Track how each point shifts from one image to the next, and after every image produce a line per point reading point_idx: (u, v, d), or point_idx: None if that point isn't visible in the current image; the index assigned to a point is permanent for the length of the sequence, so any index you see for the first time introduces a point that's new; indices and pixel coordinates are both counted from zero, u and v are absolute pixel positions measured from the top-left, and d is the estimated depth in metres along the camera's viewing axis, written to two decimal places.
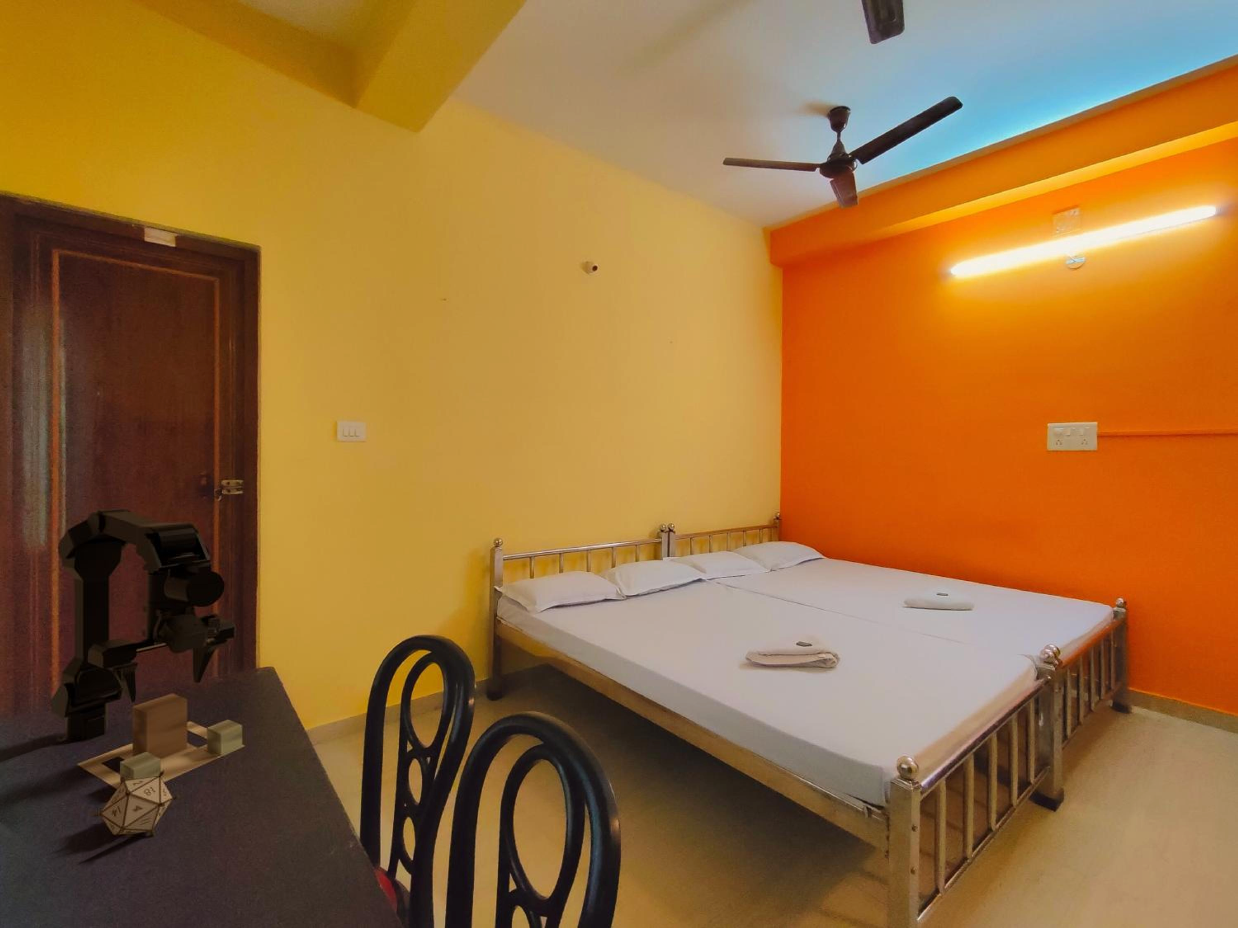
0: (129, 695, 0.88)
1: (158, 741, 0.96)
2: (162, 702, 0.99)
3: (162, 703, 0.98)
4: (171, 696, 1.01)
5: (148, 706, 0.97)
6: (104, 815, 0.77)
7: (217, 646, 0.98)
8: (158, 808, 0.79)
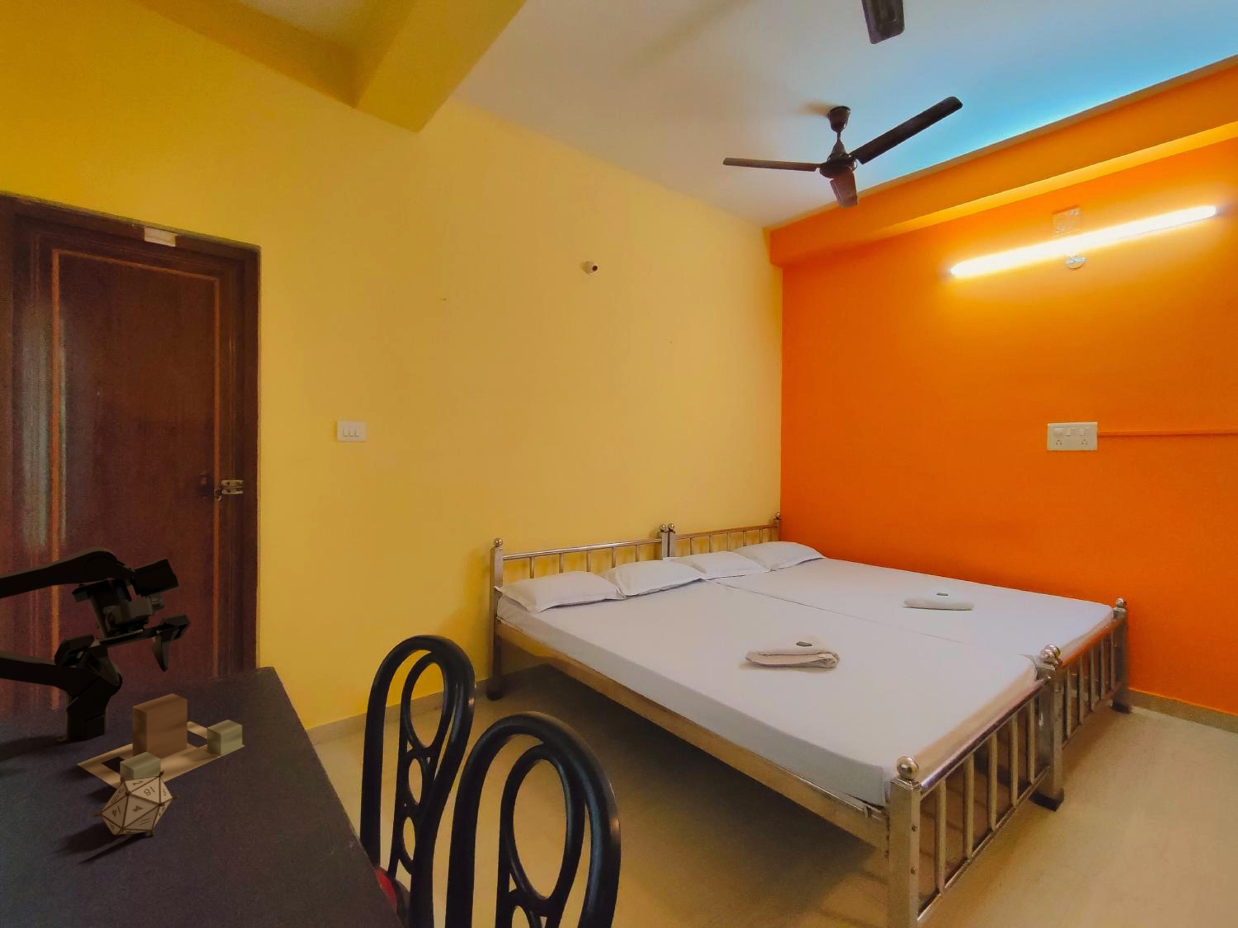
0: (112, 677, 0.98)
1: (158, 741, 0.96)
2: (162, 702, 0.99)
3: (162, 703, 0.98)
4: (171, 696, 1.01)
5: (148, 706, 0.97)
6: (104, 815, 0.77)
7: (170, 634, 1.07)
8: (158, 808, 0.79)
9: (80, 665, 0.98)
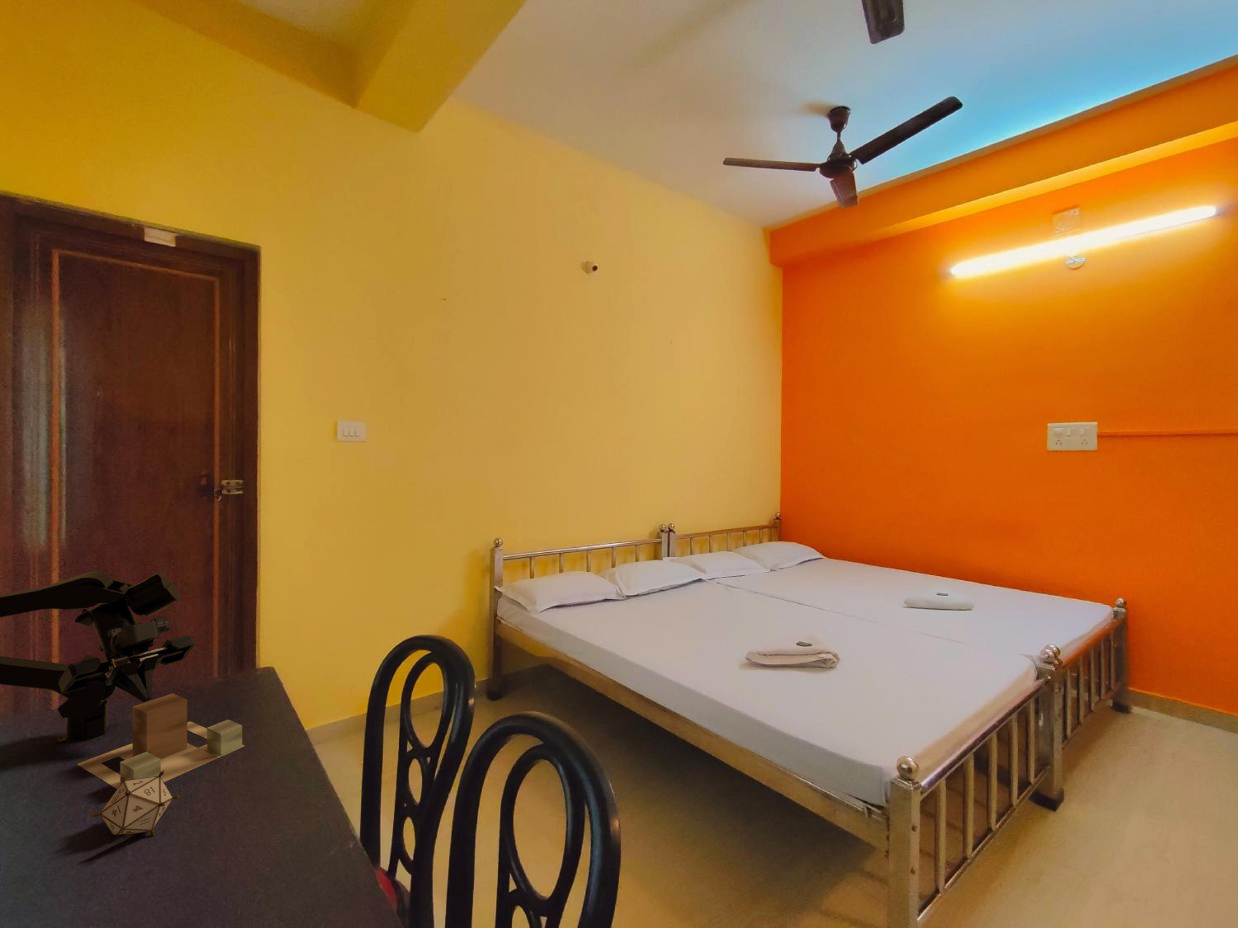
0: (141, 694, 1.01)
1: (158, 741, 0.96)
2: (162, 702, 0.99)
3: (162, 703, 0.98)
4: (171, 696, 1.01)
5: (148, 706, 0.97)
6: (104, 815, 0.77)
7: (154, 661, 1.04)
8: (158, 808, 0.79)
9: (110, 682, 1.01)
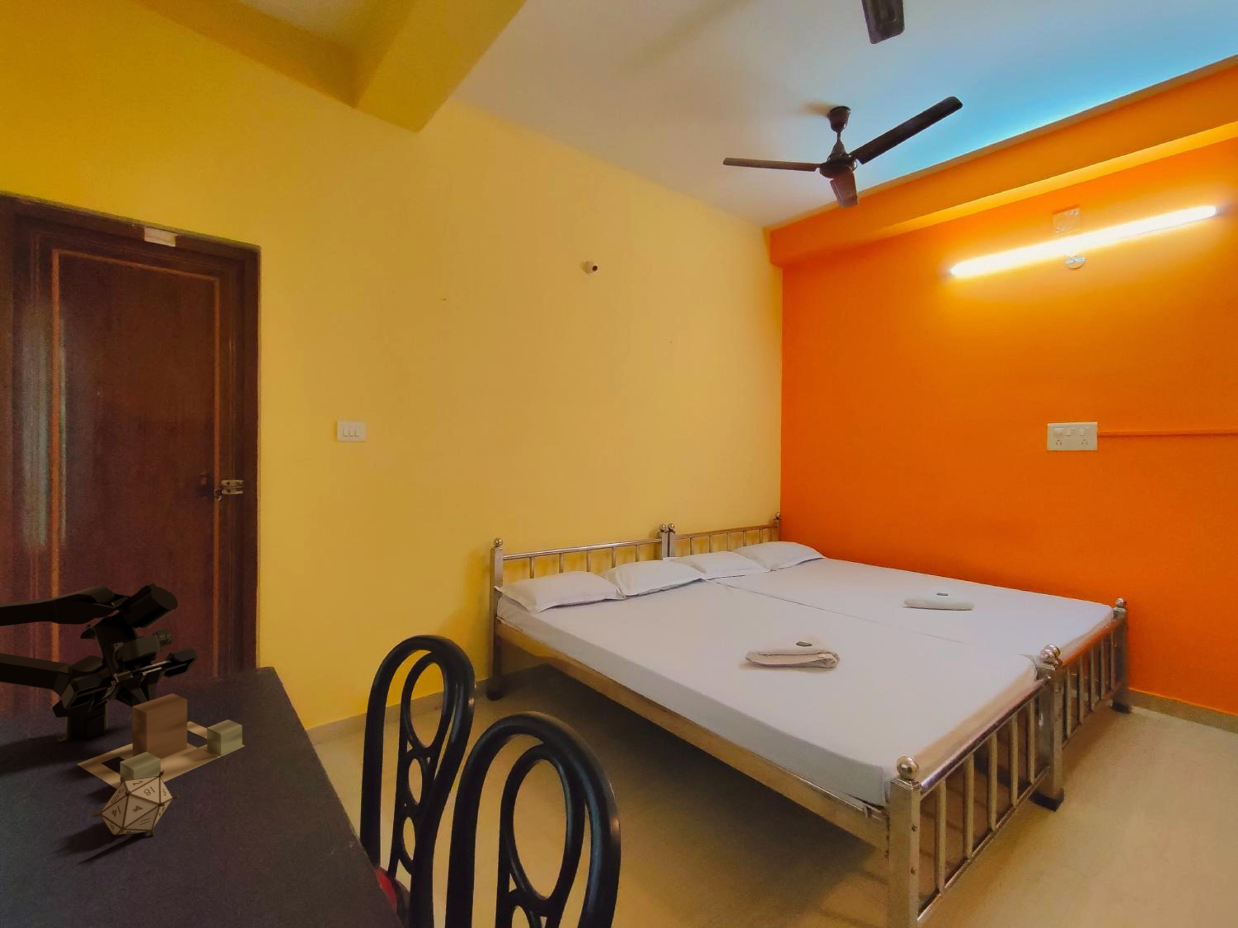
0: None
1: (158, 741, 0.96)
2: (162, 702, 0.99)
3: (162, 703, 0.98)
4: (171, 696, 1.01)
5: (148, 706, 0.97)
6: (104, 815, 0.77)
7: (157, 675, 1.03)
8: (158, 808, 0.79)
9: (113, 697, 1.00)
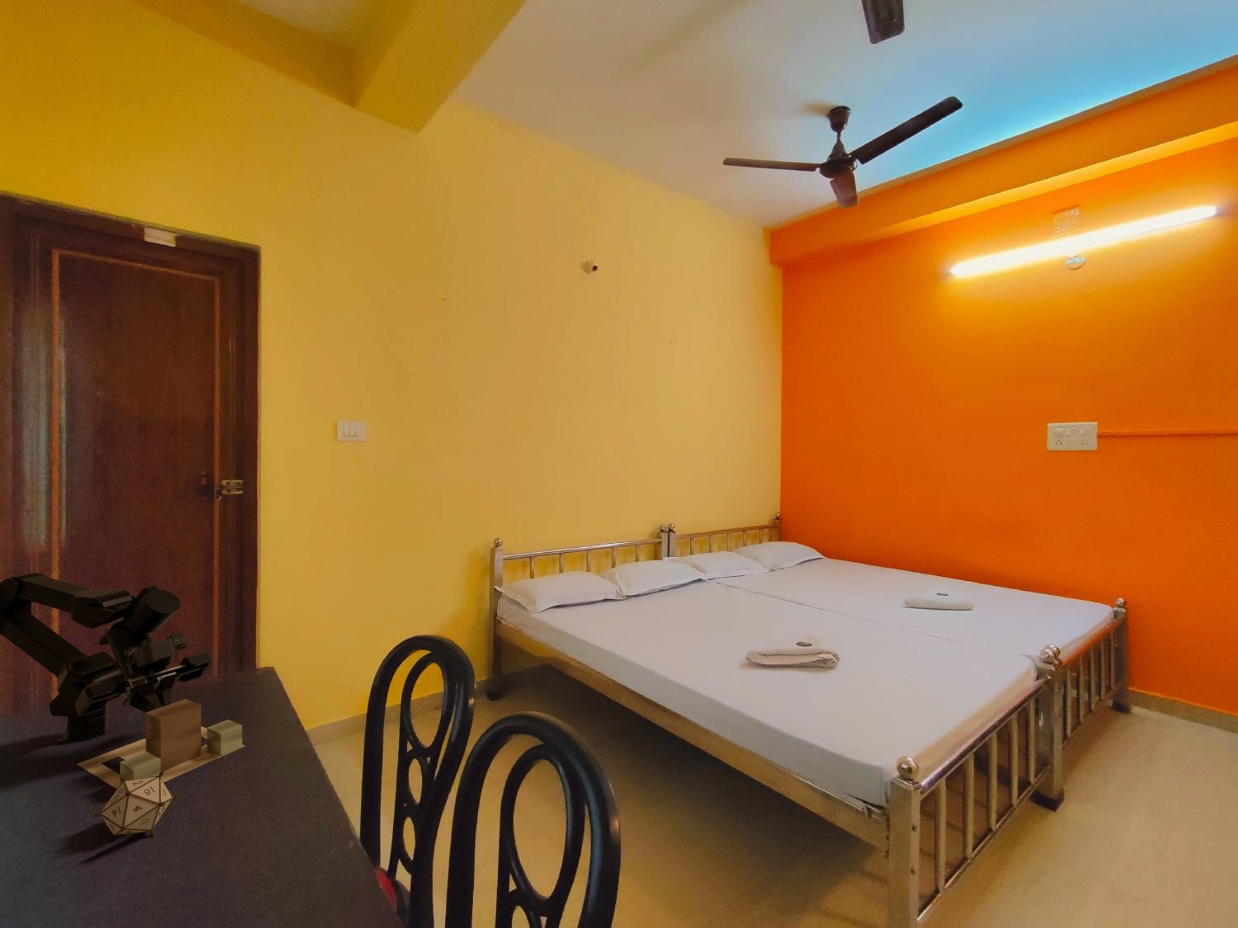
0: None
1: (172, 748, 0.94)
2: (176, 708, 0.97)
3: (176, 709, 0.96)
4: (185, 702, 0.99)
5: (161, 713, 0.95)
6: (104, 815, 0.77)
7: (172, 680, 1.01)
8: (158, 808, 0.79)
9: (127, 703, 0.98)
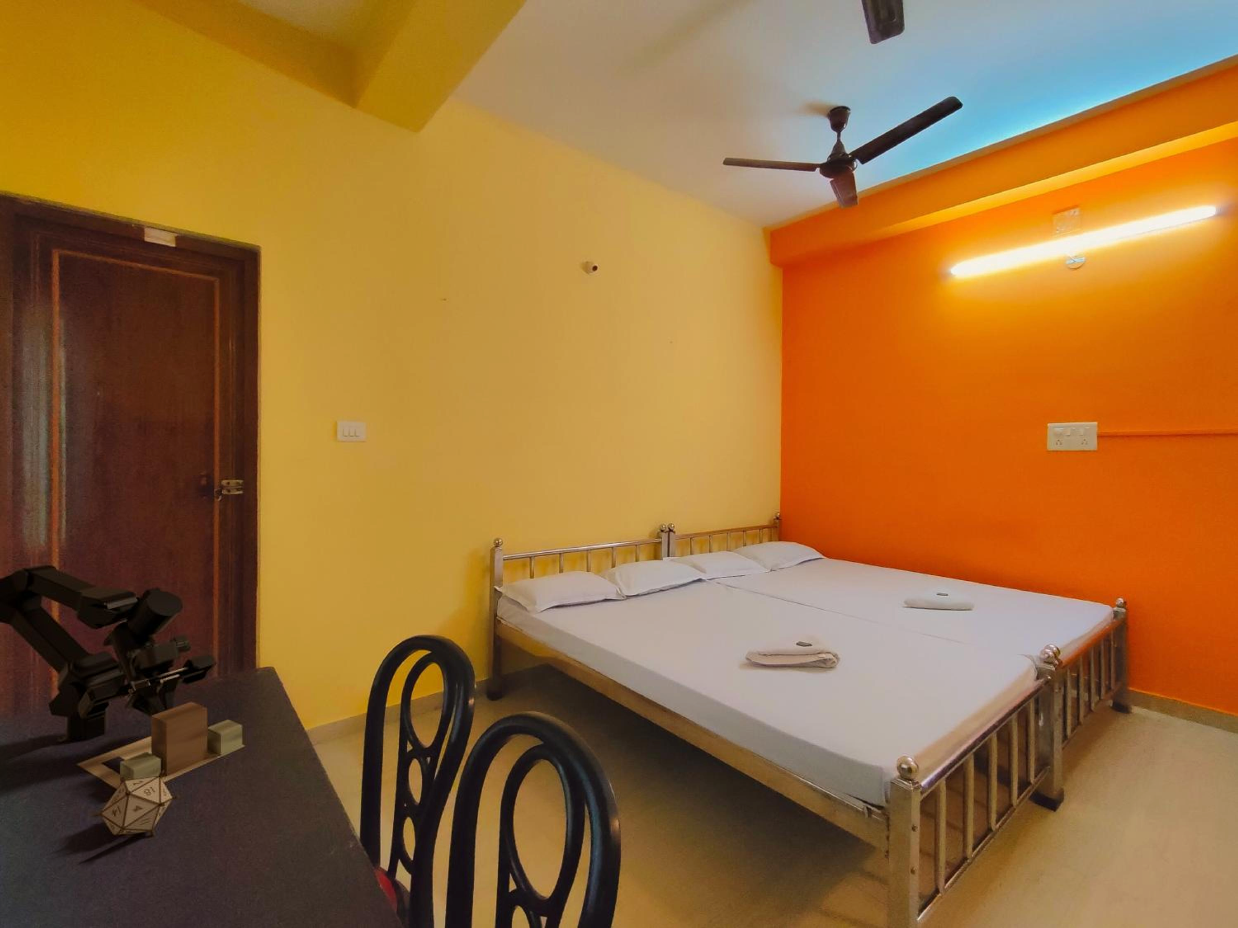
0: None
1: (178, 752, 0.93)
2: (181, 711, 0.96)
3: (182, 712, 0.95)
4: (191, 704, 0.98)
5: (167, 716, 0.94)
6: (104, 815, 0.77)
7: (175, 683, 1.00)
8: (158, 808, 0.79)
9: (130, 705, 0.97)
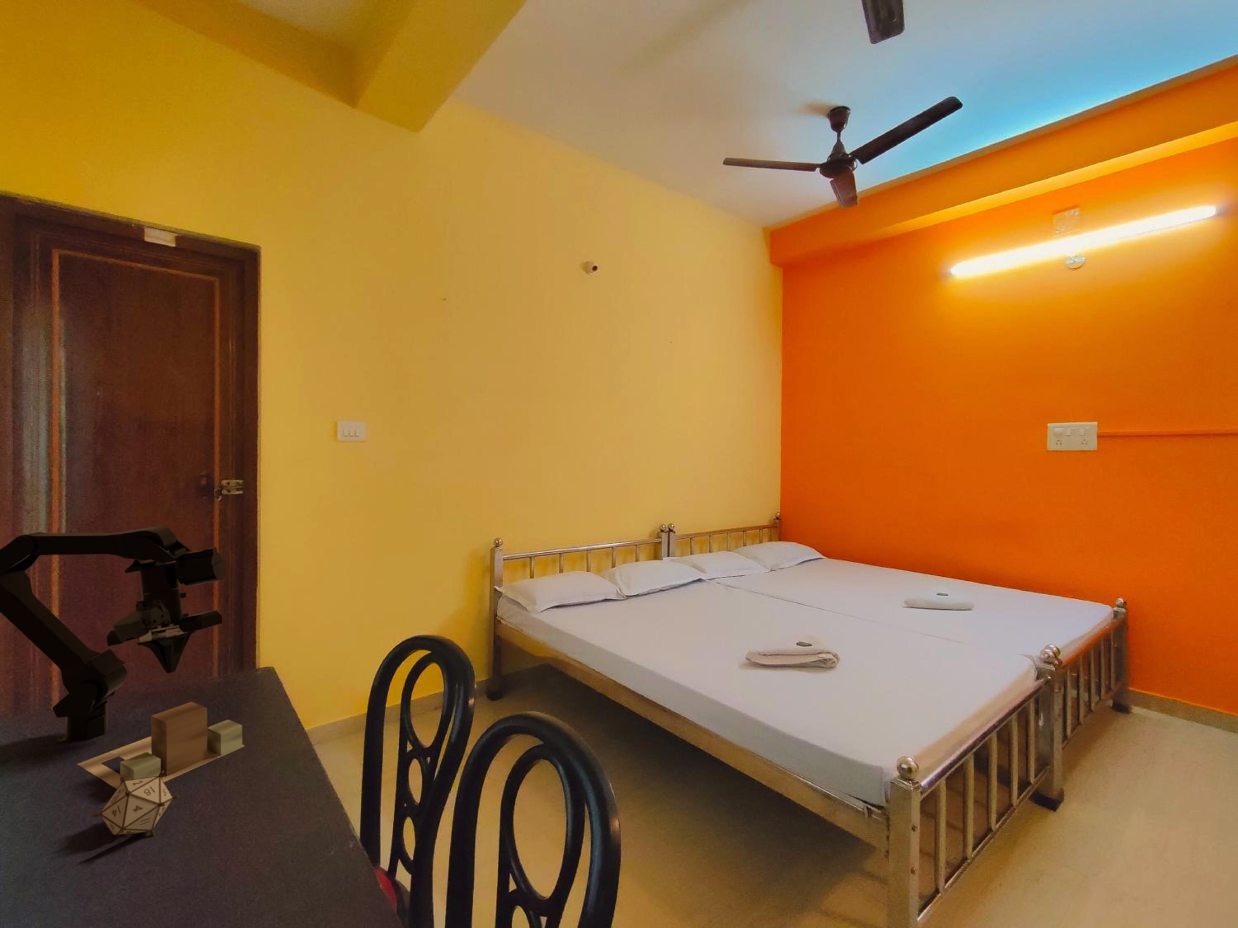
0: None
1: (178, 752, 0.93)
2: (181, 711, 0.96)
3: (182, 712, 0.95)
4: (191, 704, 0.98)
5: (167, 716, 0.94)
6: (104, 815, 0.77)
7: (167, 642, 1.04)
8: (158, 808, 0.79)
9: None
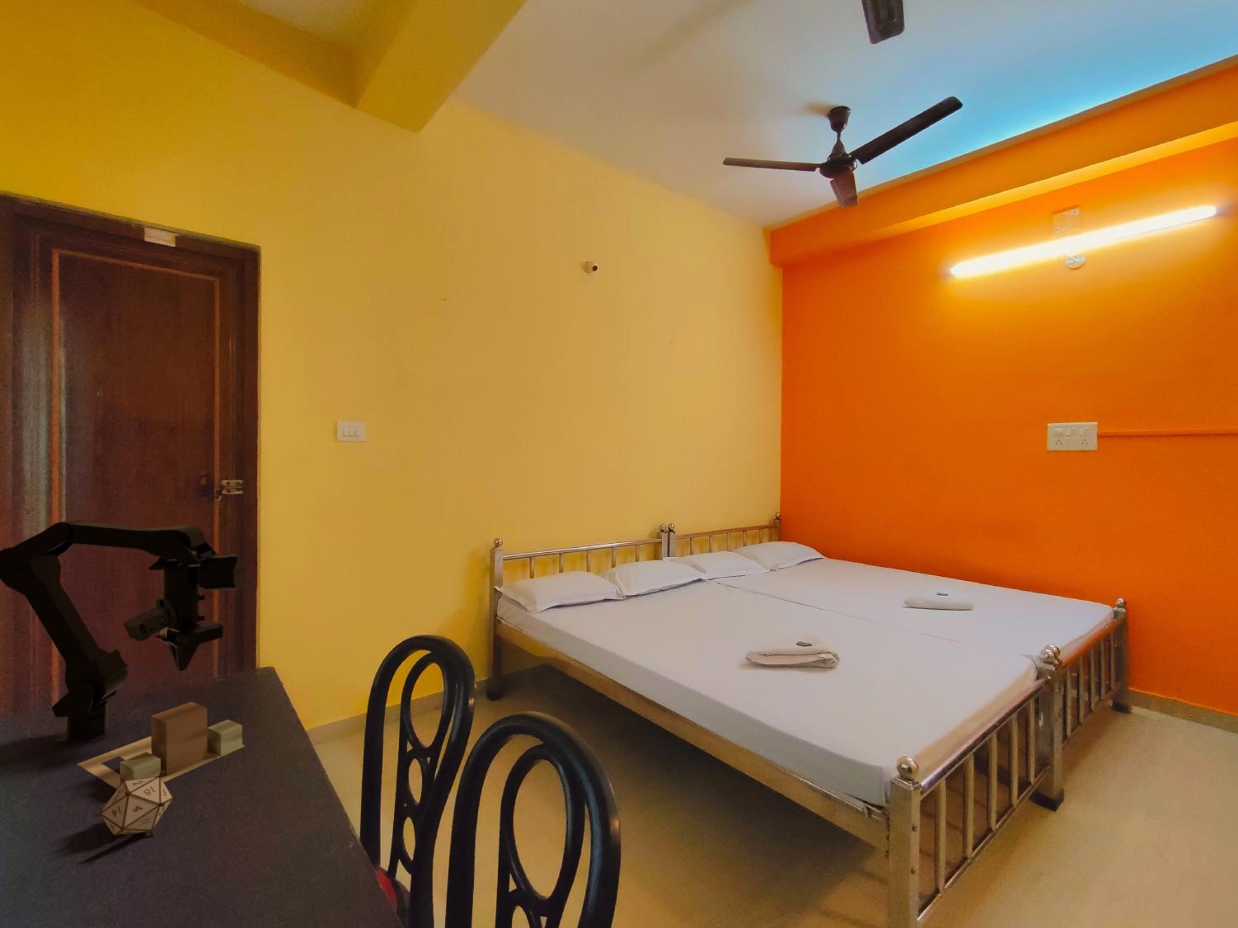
0: None
1: (178, 752, 0.93)
2: (181, 711, 0.96)
3: (182, 712, 0.95)
4: (191, 704, 0.98)
5: (167, 716, 0.94)
6: (104, 815, 0.77)
7: (173, 644, 1.05)
8: (158, 808, 0.79)
9: None
